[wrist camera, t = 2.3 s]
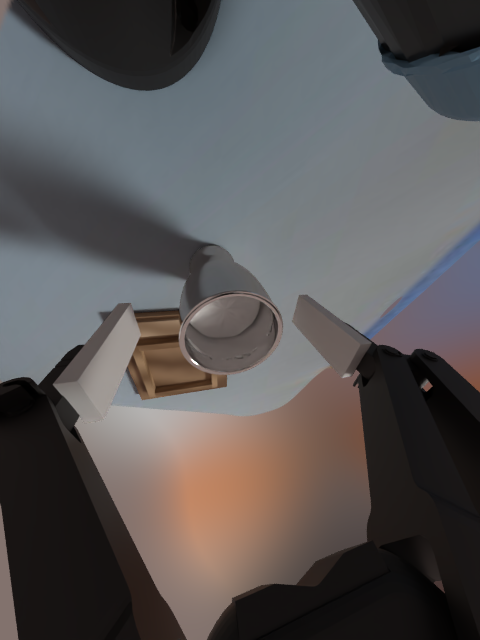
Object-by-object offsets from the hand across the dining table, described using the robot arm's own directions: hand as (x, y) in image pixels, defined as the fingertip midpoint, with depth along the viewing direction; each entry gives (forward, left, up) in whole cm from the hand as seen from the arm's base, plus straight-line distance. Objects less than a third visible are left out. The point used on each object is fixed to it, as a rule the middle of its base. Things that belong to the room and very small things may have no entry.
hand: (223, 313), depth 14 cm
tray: (+15, -6, -11) cm, 19 cm away
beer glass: (0, 0, -11) cm, 11 cm away
